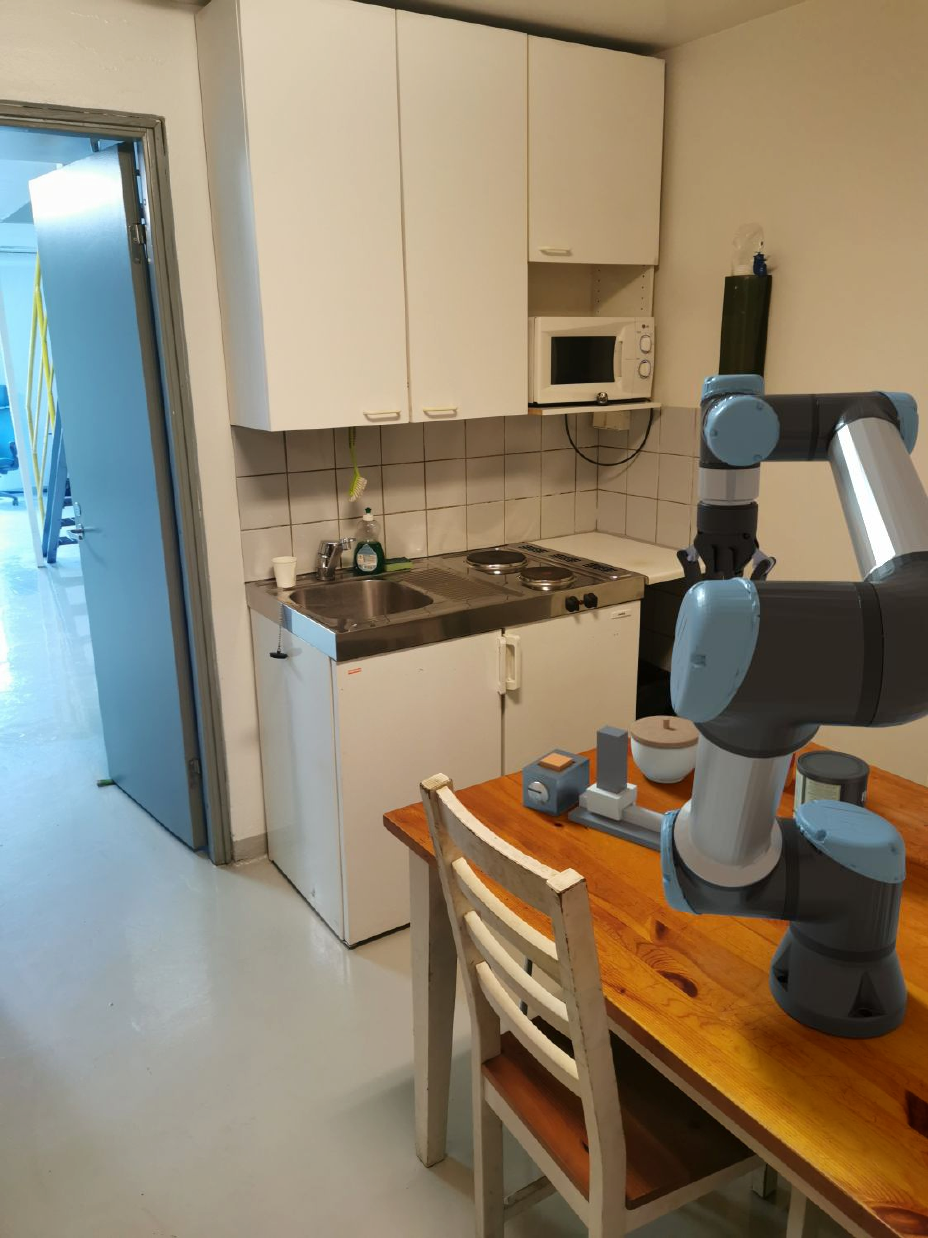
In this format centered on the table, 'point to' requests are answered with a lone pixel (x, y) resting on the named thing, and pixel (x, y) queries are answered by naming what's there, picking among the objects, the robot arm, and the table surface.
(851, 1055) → the table surface
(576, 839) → the table surface
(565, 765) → the button
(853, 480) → the robot arm
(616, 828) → the rail bed
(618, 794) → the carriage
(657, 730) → the lidded bowl
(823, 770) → the coffee can
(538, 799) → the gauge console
